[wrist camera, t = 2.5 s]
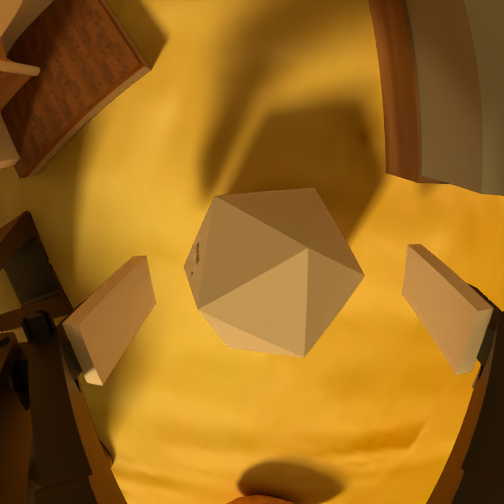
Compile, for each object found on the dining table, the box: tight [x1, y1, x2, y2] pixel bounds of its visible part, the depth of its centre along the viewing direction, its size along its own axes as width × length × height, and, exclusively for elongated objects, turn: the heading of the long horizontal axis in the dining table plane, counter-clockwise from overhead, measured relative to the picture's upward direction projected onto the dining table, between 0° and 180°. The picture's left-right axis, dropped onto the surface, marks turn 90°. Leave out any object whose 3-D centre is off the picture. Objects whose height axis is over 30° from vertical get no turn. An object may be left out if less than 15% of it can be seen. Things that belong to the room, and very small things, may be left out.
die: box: [184, 187, 365, 357], centre depth 16 cm, size 8×9×10 cm
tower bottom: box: [369, 0, 449, 184], centre depth 13 cm, size 13×13×5 cm
